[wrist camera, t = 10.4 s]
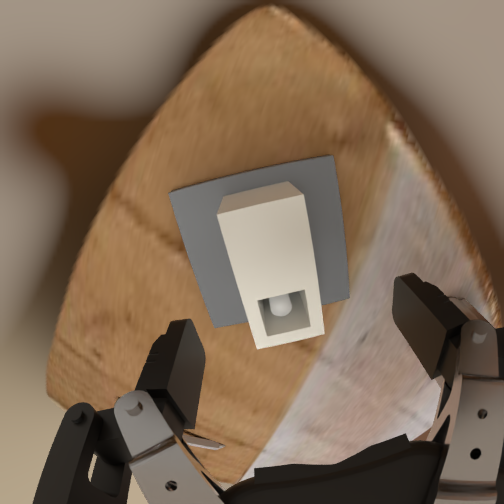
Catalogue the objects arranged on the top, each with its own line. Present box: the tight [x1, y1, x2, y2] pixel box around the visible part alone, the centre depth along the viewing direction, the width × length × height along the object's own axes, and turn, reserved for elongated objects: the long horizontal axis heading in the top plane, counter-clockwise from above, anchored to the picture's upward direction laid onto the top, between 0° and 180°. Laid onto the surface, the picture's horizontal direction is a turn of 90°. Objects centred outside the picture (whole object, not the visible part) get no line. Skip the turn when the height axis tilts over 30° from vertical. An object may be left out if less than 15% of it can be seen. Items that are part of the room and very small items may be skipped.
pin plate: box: [168, 155, 350, 328], centre depth 22 cm, size 14×14×6 cm
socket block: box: [217, 181, 324, 349], centre depth 21 cm, size 5×11×6 cm, turn 13°
